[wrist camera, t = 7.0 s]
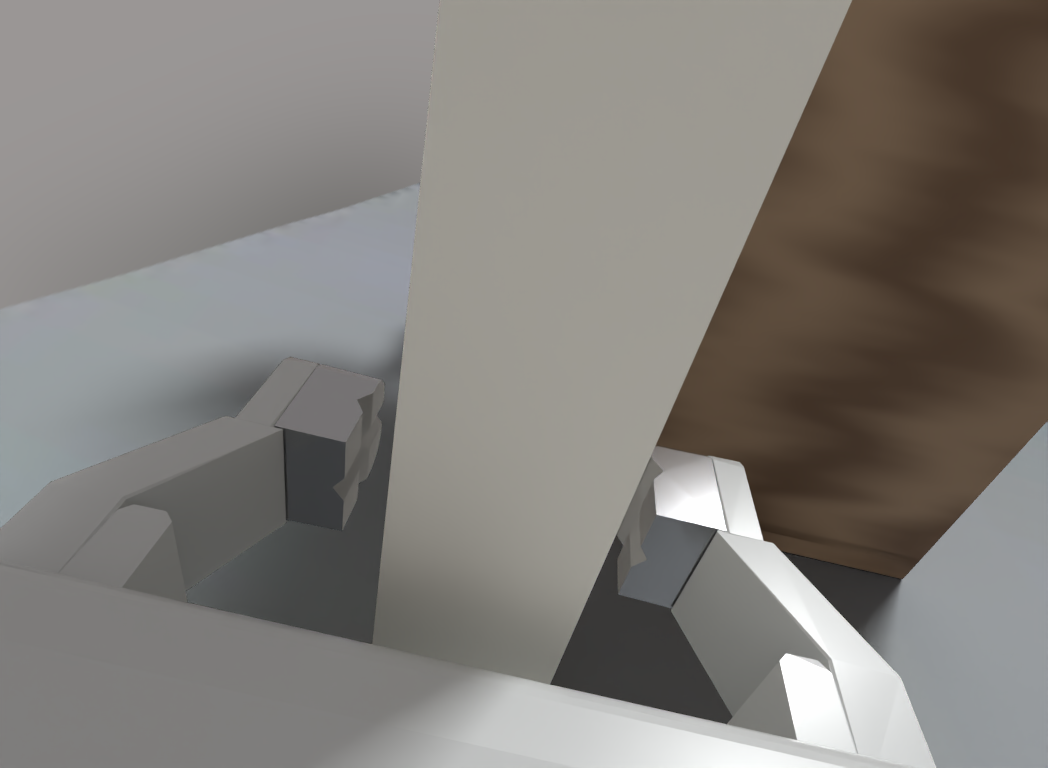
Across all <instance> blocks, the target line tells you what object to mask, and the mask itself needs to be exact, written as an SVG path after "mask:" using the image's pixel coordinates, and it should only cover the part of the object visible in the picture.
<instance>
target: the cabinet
mask: <svg viewBox="0 0 1048 768" xmlns="http://www.w3.org/2000/svg"><path fill="white" fill-rule="evenodd" d="M1047 420H1048V0H852V2H851V4H850V6H849V9H848V11H847V13H846V15H845V18H844V20H843V22H842V24H841V27H840V29H839V31H838V34H837V36H836V38H835V40H834V43H833V45H832V47H831V49H830V52H829V54H828V56H827V58H826V61H825V63H824V65H823V68H822V70H821V72H820V74H819V77H818V79H817V81H816V83H815V86H814V88H813V90H812V92H811V95H810V97H809V99H808V101H807V104H806V106H805V108H804V111H803V113H802V115H801V117H800V120H799V122H798V124H797V126H796V129H795V131H794V133H793V135H792V138H791V140H790V142H789V144H788V147H787V149H786V151H785V154H784V156H783V158H782V160H781V163H780V165H779V167H778V169H777V172H776V174H775V176H774V178H773V181H772V183H771V185H770V188H769V190H768V192H767V194H766V197H765V199H764V201H763V203H762V206H761V208H760V210H759V212H758V215H757V217H756V219H755V221H754V224H753V226H752V228H751V231H750V233H749V235H748V237H747V240H746V242H745V244H744V246H743V249H742V251H741V253H740V255H739V258H738V260H737V262H736V264H735V267H734V269H733V271H732V274H731V276H730V278H729V280H728V283H727V285H726V287H725V289H724V292H723V294H722V296H721V298H720V301H719V303H718V305H717V308H716V310H715V312H714V314H713V317H712V319H711V321H710V323H709V326H708V328H707V330H706V332H705V335H704V337H703V339H702V341H701V344H700V346H699V348H698V351H697V353H696V355H695V357H694V360H693V362H692V364H691V366H690V369H689V371H688V373H687V375H686V378H685V380H684V382H683V384H682V387H681V389H680V391H679V394H678V396H677V398H676V400H675V403H674V405H673V407H672V409H671V412H670V414H669V416H668V418H667V421H666V423H665V425H664V428H663V430H662V432H661V434H660V437H659V439H658V441H657V443H656V445H661V446H665V447H669V448H674V449H678V450H682V451H687V452H691V453H695V454H700V455H704V456H713V457H718V458H723V459H728V460H733V461H737V462H740V463H741V464H742V465H743V466H744V469H745V473H746V477H747V480H748V484H749V488H750V491H751V495H752V499H753V503H754V506H755V510H756V514H757V518H758V521H759V525H760V529H761V532H762V536H763V540H764V541H766V542H770V543H773V544H774V545H775V546H776V547H777V548H778V549H779V550H780V551H783V552H788V553H792V554H796V555H801V556H805V557H809V558H814V559H818V560H822V561H827V562H831V563H835V564H839V565H844V566H848V567H852V568H857V569H861V570H865V571H870V572H874V573H878V574H883V575H887V576H891V577H895V578H900V579H903V578H904V577H905V576H906V575H907V574H908V573H909V572H910V570H911V569H912V568H913V567H914V566H915V565H916V564H917V563H918V562H919V561H920V560H921V558H922V557H923V556H924V555H925V554H926V553H927V552H928V551H929V550H930V549H931V547H932V546H933V545H934V544H935V543H936V542H937V541H938V540H939V539H940V538H941V537H942V535H943V534H944V533H945V532H946V531H947V530H948V529H949V528H950V527H951V526H952V525H953V523H954V522H955V521H956V520H957V519H958V518H959V517H960V516H961V515H962V514H963V512H964V511H965V510H966V509H967V508H968V507H969V506H970V505H971V504H972V503H973V502H974V500H975V499H976V498H977V497H978V496H979V495H980V494H981V493H982V492H983V491H984V490H985V488H986V487H987V486H988V485H989V484H990V483H991V482H992V481H993V480H994V479H995V477H996V476H997V475H998V474H999V473H1000V472H1001V471H1002V470H1003V469H1004V468H1005V467H1006V465H1007V464H1008V463H1009V462H1010V461H1011V460H1012V459H1013V458H1014V457H1015V456H1016V455H1017V453H1018V452H1019V451H1020V450H1021V449H1022V448H1023V447H1024V446H1025V445H1026V444H1027V442H1028V441H1029V440H1030V439H1031V438H1032V437H1033V436H1034V435H1035V434H1036V433H1037V432H1038V430H1039V429H1040V428H1041V427H1042V426H1043V425H1044V424H1045V423H1046V422H1047Z"/></svg>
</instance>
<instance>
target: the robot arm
mask: <svg viewBox="0 0 1048 768" xmlns="http://www.w3.org/2000/svg"><path fill="white" fill-rule="evenodd" d="M384 391H385V384H384V382H383V380H381V379H377V378H373V377H369V376H365V375H361V374H358V373H354V372H350V371H346V370H342V369H338V368H334V367H330V366H326V365H323V364H322V365H320V364H318V363H314V362H309V361H305V360H301V359H297V358H293V357H289V358H286V359H284V360H283V361H282V362H281V363H280V364H279V365H278V366H277V368H276V369H275V370H274V371H273V373H272V374H271V375H270V376H269V377H268V379H267V380H266V381H265V382H264V384H263V385H262V386H261V387H260V388H259V390H258V391H257V392H256V393H255V394H254V396H253V397H252V398H251V399H250V401H249V402H248V403H247V404H246V405H245V407H244V408H243V409H242V410H241V411H240V413H239V414H238V415H237V416H236V418H232V417H228V416H224V417H221V418H219V419H216V420H213V421H211V422H208V423H205V424H203V425H200V426H197V427H195V428H192V429H189V430H187V431H184V432H181V433H179V434H176V435H174V436H171V437H168V438H166V439H163V440H160V441H158V442H155V443H152V444H150V445H147V446H144V447H142V448H139V449H136V450H134V451H131V452H128V453H126V454H123V455H120V456H118V457H115V458H112V459H110V460H107V461H104V462H102V463H99V464H97V465H94V466H91V467H89V468H86V469H83V470H81V471H78V472H75V473H73V474H70V475H67V476H65V477H62V478H59V479H57V480H54V481H51V482H50V483H49V484H48V485H47V486H45V487H44V488H43V489H42V490H41V491H40V492H39V493H38V494H37V495H36V496H35V497H34V498H33V499H32V500H30V501H29V502H28V503H27V504H26V505H25V506H24V507H23V508H22V509H21V510H20V511H19V512H18V513H16V514H15V515H14V516H13V517H12V518H11V519H10V520H9V521H8V522H7V523H6V524H5V525H4V526H2V527H1V528H0V768H936V765H935V763H934V760H933V758H932V755H931V753H930V750H929V748H928V745H927V743H926V740H925V738H924V735H923V733H922V730H921V728H920V725H919V723H918V720H917V718H916V715H915V713H914V710H913V708H912V705H911V703H910V700H909V698H908V695H907V693H906V690H905V687H904V685H903V682H902V680H901V677H900V676H899V675H898V674H897V673H896V672H895V671H894V670H893V669H892V668H891V667H890V666H889V665H888V664H887V663H886V662H885V661H884V660H883V658H882V657H881V656H880V655H879V654H878V653H877V652H876V651H875V650H874V649H873V648H872V647H871V646H870V645H869V644H868V643H867V642H866V641H865V639H864V638H863V637H862V636H861V635H860V634H859V633H858V632H857V631H856V630H855V629H854V628H853V627H852V626H851V625H850V624H849V623H848V622H847V620H846V619H845V618H844V617H843V616H842V615H841V614H840V613H839V612H838V611H837V610H836V609H835V608H834V607H833V606H832V605H831V604H830V603H829V602H828V600H827V599H826V598H825V597H824V596H823V595H822V594H821V593H820V592H819V591H818V590H817V589H816V588H815V587H814V586H813V585H812V584H811V583H810V581H809V580H808V579H807V578H806V577H805V576H804V575H803V574H802V573H801V572H800V571H799V570H798V569H797V568H796V567H795V566H794V565H793V564H792V562H791V561H790V560H789V559H788V558H787V557H786V556H785V555H784V554H783V553H782V552H781V551H780V550H779V549H778V548H777V547H776V546H775V545H774V544H773V543H770V542H766V541H764V540H763V536H762V532H761V529H760V525H759V521H758V518H757V514H756V510H755V506H754V503H753V499H752V495H751V491H750V488H749V484H748V480H747V477H746V473H745V469H744V466H743V465H742V464H741V463H740V462H737V461H733V460H728V459H723V458H718V457H713V456H704V455H700V454H695V453H691V452H687V451H682V450H678V449H674V448H669V447H665V446H661V445H656V446H655V448H654V450H653V452H652V455H651V457H650V459H649V461H648V464H647V466H646V468H645V471H644V473H643V475H642V477H641V480H640V482H639V484H638V486H637V489H636V491H635V493H634V495H633V498H632V500H631V502H630V504H629V507H628V509H627V511H626V514H625V516H624V518H623V520H622V523H621V525H620V527H619V529H618V532H617V537H618V538H619V540H620V541H621V542H622V544H623V548H622V550H621V552H620V554H619V557H618V559H617V563H618V595H622V596H626V597H629V598H633V599H637V600H641V601H645V602H649V603H653V604H657V605H661V606H664V607H668V608H672V609H671V612H672V614H673V615H674V617H675V619H676V621H677V622H678V624H679V626H680V628H681V629H682V631H683V633H684V634H685V636H686V638H687V640H688V641H689V643H690V645H691V646H692V648H693V650H694V652H695V653H696V655H697V657H698V658H699V660H700V662H701V664H702V665H703V667H704V669H705V670H706V672H707V674H708V676H709V677H710V679H711V681H712V682H713V684H714V686H715V688H716V689H717V691H718V693H719V695H720V696H721V698H722V700H723V701H724V703H725V705H726V707H727V708H728V710H729V712H730V713H731V715H732V718H731V720H730V721H729V722H728V723H727V724H723V723H719V722H715V721H710V720H706V719H701V718H697V717H692V716H688V715H683V714H679V713H674V712H670V711H666V710H661V709H657V708H652V707H648V706H643V705H639V704H634V703H630V702H626V701H621V700H617V699H612V698H608V697H603V696H599V695H594V694H590V693H586V692H581V691H577V690H572V689H568V688H563V687H559V686H554V685H550V684H546V683H541V682H537V681H532V680H528V679H524V678H519V677H515V676H510V675H506V674H501V673H497V672H493V671H488V670H484V669H479V668H475V667H471V666H466V665H462V664H457V663H453V662H449V661H444V660H440V659H435V658H431V657H426V656H422V655H418V654H413V653H409V652H404V651H400V650H396V649H391V648H387V647H382V646H378V645H374V644H369V643H365V642H360V641H356V640H351V639H347V638H343V637H338V636H334V635H329V634H325V633H321V632H316V631H312V630H307V629H303V628H298V627H294V626H290V625H285V624H281V623H276V622H272V621H267V620H263V619H259V618H254V617H250V616H245V615H241V614H237V613H232V612H228V611H223V610H219V609H214V608H210V607H206V606H201V605H197V604H192V603H188V601H187V596H186V591H187V590H188V589H190V588H191V587H193V586H194V585H196V584H197V583H199V582H200V581H202V580H203V579H205V578H206V577H207V576H209V575H210V574H212V573H213V572H215V571H216V570H218V569H219V568H221V567H222V566H224V565H225V564H227V563H228V562H230V561H231V560H233V559H234V558H236V557H237V556H239V555H240V554H241V553H243V552H244V551H246V550H247V549H249V548H250V547H252V546H253V545H255V544H256V543H258V542H259V541H261V540H262V539H264V538H265V537H267V536H268V535H270V534H271V533H272V532H274V531H275V530H277V529H278V528H280V527H281V526H283V525H284V524H286V520H289V521H294V522H299V523H304V524H309V525H314V526H319V527H324V528H329V529H334V530H339V531H343V528H344V526H345V524H346V522H347V520H348V518H349V516H350V514H351V512H352V510H353V508H354V505H355V503H356V501H357V499H358V485H359V483H360V482H362V481H364V480H366V479H367V478H368V476H369V473H370V471H371V469H372V467H373V464H374V461H375V458H376V454H377V451H378V448H379V442H380V437H381V429H382V422H381V421H380V419H379V418H378V416H377V414H378V412H379V410H380V408H381V406H382V404H383V402H384Z"/></svg>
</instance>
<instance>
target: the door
mask: <svg viewBox="0 0 1048 768" xmlns="http://www.w3.org/2000/svg"><path fill="white" fill-rule="evenodd" d="M851 2H852V0H440V1H439V10H438V20H437V29H436V39H435V48H434V58H433V67H432V77H431V86H430V87H431V88H430V97H429V106H428V115H427V125H426V134H425V144H424V153H423V163H422V172H421V182H420V191H419V201H418V211H417V220H416V230H415V239H414V249H413V258H412V268H411V277H410V287H409V296H408V306H407V316H406V325H405V335H404V344H403V354H402V363H401V373H400V382H399V392H398V401H397V411H396V421H395V430H394V440H393V449H392V459H391V468H390V478H389V487H388V497H387V506H386V516H385V526H384V535H383V545H382V554H381V564H380V573H379V583H378V592H377V602H376V611H375V621H374V631H373V640H372V644H374V645H378V646H382V647H387V648H391V649H396V650H400V651H404V652H409V653H413V654H418V655H422V656H426V657H431V658H435V659H440V660H444V661H449V662H453V663H457V664H462V665H466V666H471V667H475V668H479V669H484V670H488V671H493V672H497V673H501V674H506V675H510V676H515V677H519V678H524V679H528V680H532V681H537V682H541V683H546V684H550V683H551V681H552V679H553V677H554V674H555V672H556V670H557V668H558V665H559V663H560V661H561V658H562V656H563V654H564V652H565V649H566V647H567V645H568V643H569V640H570V638H571V636H572V634H573V631H574V629H575V627H576V624H577V622H578V620H579V618H580V615H581V613H582V611H583V609H584V606H585V604H586V602H587V600H588V597H589V595H590V593H591V591H592V588H593V586H594V584H595V581H596V579H597V577H598V575H599V572H600V570H601V568H602V566H603V563H604V561H605V559H606V557H607V554H608V552H609V550H610V548H611V545H612V543H613V541H614V538H615V536H616V534H617V532H618V529H619V527H620V525H621V523H622V520H623V518H624V516H625V514H626V511H627V509H628V507H629V504H630V502H631V500H632V498H633V495H634V493H635V491H636V489H637V486H638V484H639V482H640V480H641V477H642V475H643V473H644V471H645V468H646V466H647V464H648V461H649V459H650V457H651V455H652V452H653V450H654V448H655V446H656V443H657V441H658V439H659V437H660V434H661V432H662V430H663V428H664V425H665V423H666V421H667V418H668V416H669V414H670V412H671V409H672V407H673V405H674V403H675V400H676V398H677V396H678V394H679V391H680V389H681V387H682V384H683V382H684V380H685V378H686V375H687V373H688V371H689V369H690V366H691V364H692V362H693V360H694V357H695V355H696V353H697V351H698V348H699V346H700V344H701V341H702V339H703V337H704V335H705V332H706V330H707V328H708V326H709V323H710V321H711V319H712V317H713V314H714V312H715V310H716V308H717V305H718V303H719V301H720V298H721V296H722V294H723V292H724V289H725V287H726V285H727V283H728V280H729V278H730V276H731V274H732V271H733V269H734V267H735V264H736V262H737V260H738V258H739V255H740V253H741V251H742V249H743V246H744V244H745V242H746V240H747V237H748V235H749V233H750V231H751V228H752V226H753V224H754V221H755V219H756V217H757V215H758V212H759V210H760V208H761V206H762V203H763V201H764V199H765V197H766V194H767V192H768V190H769V188H770V185H771V183H772V181H773V178H774V176H775V174H776V172H777V169H778V167H779V165H780V163H781V160H782V158H783V156H784V154H785V151H786V149H787V147H788V144H789V142H790V140H791V138H792V135H793V133H794V131H795V129H796V126H797V124H798V122H799V120H800V117H801V115H802V113H803V111H804V108H805V106H806V104H807V101H808V99H809V97H810V95H811V92H812V90H813V88H814V86H815V83H816V81H817V79H818V77H819V74H820V72H821V70H822V68H823V65H824V63H825V61H826V58H827V56H828V54H829V52H830V49H831V47H832V45H833V43H834V40H835V38H836V36H837V34H838V31H839V29H840V27H841V24H842V22H843V20H844V18H845V15H846V13H847V11H848V9H849V6H850V4H851Z"/></svg>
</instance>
